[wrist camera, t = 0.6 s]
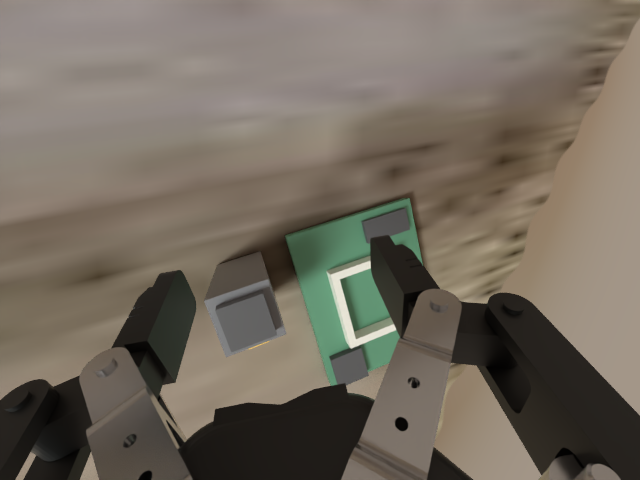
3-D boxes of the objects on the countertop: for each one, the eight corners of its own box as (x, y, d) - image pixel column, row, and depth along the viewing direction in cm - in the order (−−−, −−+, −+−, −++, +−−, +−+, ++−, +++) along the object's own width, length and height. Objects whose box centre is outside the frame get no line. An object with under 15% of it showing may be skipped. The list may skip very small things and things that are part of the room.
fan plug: (217, 265, 29) (202, 305, 19) (260, 251, 30) (269, 282, 20) (233, 309, 30) (228, 371, 20) (274, 295, 31) (290, 346, 21)
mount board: (284, 235, 30) (289, 240, 27) (403, 197, 33) (420, 198, 30) (328, 381, 34) (337, 399, 31) (432, 336, 37) (449, 350, 34)
